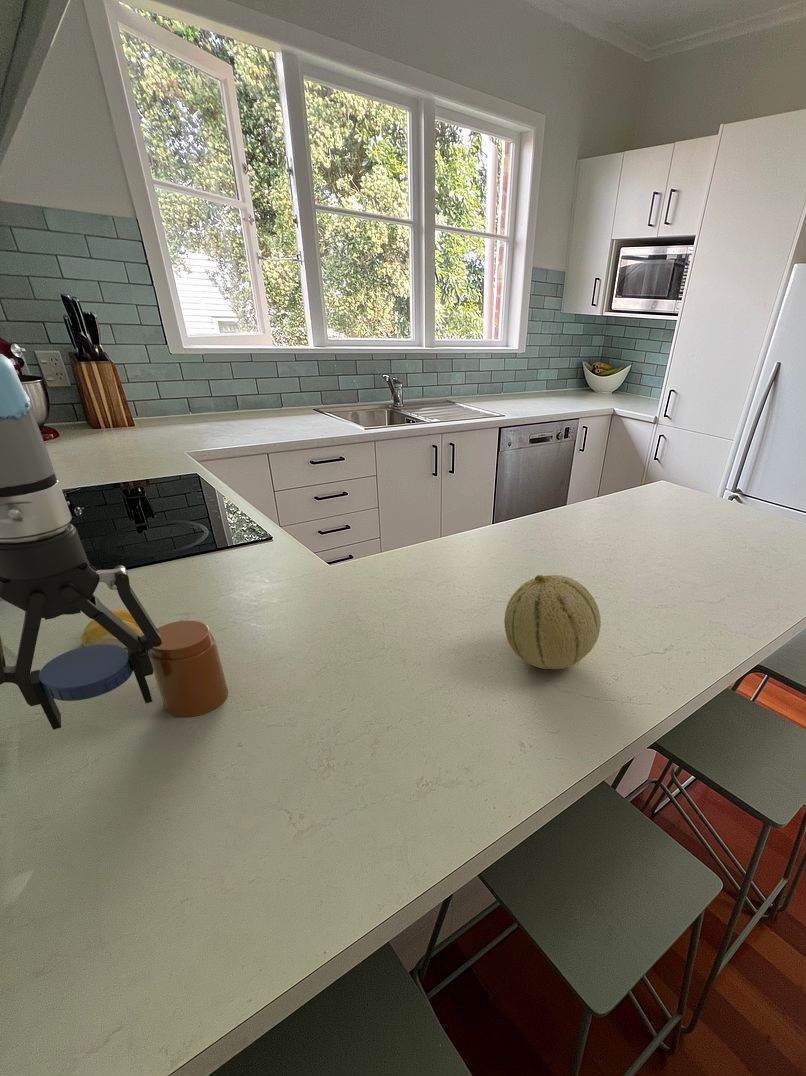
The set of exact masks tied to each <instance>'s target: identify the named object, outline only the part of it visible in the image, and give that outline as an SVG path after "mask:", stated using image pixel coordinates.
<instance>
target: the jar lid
mask: <svg viewBox="0 0 806 1076" xmlns="http://www.w3.org/2000/svg"><path fill="white" fill-rule="evenodd" d="M133 673H134V671H133V668H132V666H131V663H130V660H129V656H128V651H127V649H126V648H122V647H120V646H116V645H108V644H100V645H91V646H85V647H84V646H82V647H78V648H74V649H71V650H69V651H66V652H63V653H61V654H59V655H57V656H56V657H54V658H52V659H51V660H49V661H48V662H46V663H45V664H44V666H43V667H42V668H41V669H40V673H39V680H40V682H41V684H42V686H43V688H44V690H45V693H46V695H48V696H50V697H51V698H53V699H54V700H57V701H62V702H75V701H76V702H77V701H84V700H88V699H92V698H97V697H99V696H103V695H105V694H107V693H109V692H112V691H114V690H116V689H117V688H119V687H120V686H122V685H123V684H124V683H126V682H127V681H128V680H129V679H130V678H131V676H132V675H133Z"/></svg>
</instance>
